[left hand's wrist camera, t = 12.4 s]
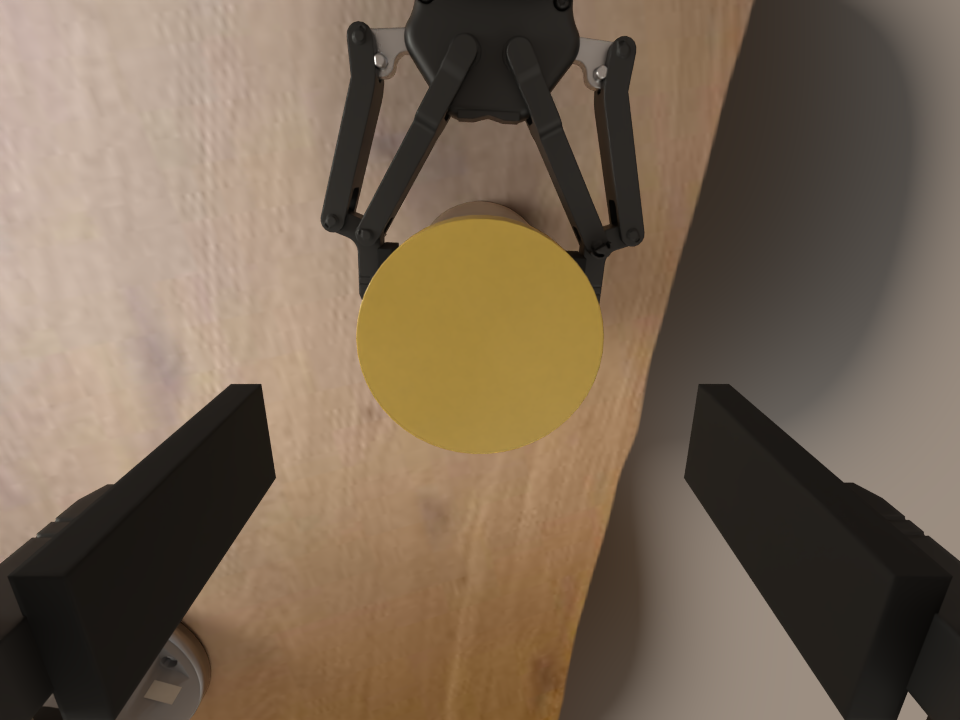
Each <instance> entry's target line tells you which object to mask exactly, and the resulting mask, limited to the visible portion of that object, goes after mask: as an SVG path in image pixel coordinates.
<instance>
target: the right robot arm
mask: <svg viewBox="0 0 960 720" xmlns="http://www.w3.org/2000/svg"><path fill="white" fill-rule="evenodd" d="M347 43H348V52H349V62H350V71H351V79H350V84H349V88H348V93H347V98H346V102H345V107H344V112H343V116H342V121H341V126H340V130H339V135H338V140H337V144H336V149H335V154H334V158H333V163H332V167H331V172H330V177H329V181H328V186H327V191H326V195H325V200H324V205H323V209H322V214H321V224H322V226H323V227H324V228H325V230H327V231H329V232H336V233H339V234H341V235H343V236H346V237H348V238H350V239H351V240H353V241H354V243H355V244H356V246H357V248H358V266H359V294H360V296H361V299H362V300H363V297H364V294H365V292H366V290H367V288H368V286H369V284H370V282H371V280H372V278H373V276H374V275H375V273H376V272H377V271H378V269H379V268H380V266H381V265H382V264H383V263H384V261H385V260H386V259H387V258H388V257H389V256H390V255H391V254H392V253H393V252H394V251H395V250H396V249H397V248H398V247H399V243H392V242H385V243H384V237H385V236H386V235H387V234H386V232H387V230H388V229H389V227H390V225H391V223H392V221H393V219H394V218H395V216H396V214H397V212H398V210H399V209H400V207H401V205H402V203H403V201H404V199H405V198H406V196H407V194H408V192H409V190H410V188H411V187H412V185H413V183H414V181H415V179H416V177H417V176H418V174H419V172H420V170H421V168H422V166H423V165H424V163H425V161H426V159H427V157H428V156H429V154H430V152H431V150H432V148H433V146H434V145H435V143H436V141H437V139H438V137H439V136H440V134H441V133H442V131H443V130H444V128H445V126H446V124H447V123H448V121H449V119H450V117H453V118H455V119H457V120H458V121H459V122H476V121H481V120H485V119H490V120H493V121H496V122H499V123H502V124H516V125H517V124H518V123H520V122H523V121H526V123H527V126H528V128H529V130H530V133H531V135H532V137H533V139H534V140H535V142H536V144H537V147H538V149H539V151H540V154H541V156H542V158H543V161H544V163H545V165H546V168H547V170H548V172H549V175H550V177H551V179H552V182H553V184H554V187H555V189H556V191H557V194H558V196H559V198H560V201H561V203H562V205H563V208H564V210H565V212H566V215H567V217H568V219H569V222H570V224H571V226H572V229H573V231H574V233H575V236H576V238H577V240H578V243H579V245H580V248H579V252H578V251H566V252H567V253H568V254H569V255H570V256H571V257H572V258H573V259H574V260H575V261H576V262H577V263H578V265H579V266H580V268H581V269H582V270H583V272H584V273H585V275H586V276H587V278H588V280H589V282H590V284H591V285H592V287H593V289H594V291H595V294H596V297H597V300H598V303H600V294H601V287H602V280H603V272H604V264H605V260H606V258H607V257H608V256H609V255H610V254H611V252H613V251H615V250H618V249H621V248H624V247H627V246H636V245H639V244H640V243H641V242H642V240H643V238H644V225H643V216H642V207H641V199H640V190H639V181H638V173H637V164H636V155H635V147H634V138H633V129H632V121H631V112H630V103H629V94H628V90H629V85H630V80H631V75H632V70H633V65H634V60H635V55H636V45H635V42H634V41H633V40H632V38H630V37H628V36H621V37H619V38H618V39H616V40H615V41H614V42H609V41H602V40H596V39H589V38H582V37H580V36H579V32H578V30H577V28H576V25H575V21H574V17H573V0H415V2H414V7H413V11H412V13H411V16H410V18H409V20H408V22H407V24H406V26H405V27H404V28H378V29H371V28H369V26H368V25H367V24H365V23H364V22H360V21H357V22H354V23H352V24H351V25H350V26H349V28H348V30H347ZM404 55H410V56H411V58H412V59H413V61H414V63H415V64H416V66H417V68H418V69H419V71H420V72H421V74H422V76H423V77H424V79H425V81H426V82H427V84H428V86H429V89H428V91H427V93H426V95H425V97H424V99H423V101H422V102H421V104H420V106H419V108H418V110H417V112H416V115H415V118H414V121H413V123H412V125H411V127H410V129H409V130H408V132H407V134H406V136H405V138H404V140H403V142H402V144H401V146H400V147H399V149H398V151H397V153H396V155H395V157H394V159H393V161H392V163H391V165H390V166H389V168H388V170H387V172H386V174H385V176H384V178H383V180H382V182H381V184H380V185H379V187H378V189H377V191H376V193H375V195H374V197H373V199H372V201H371V203H370V204H369V206H368V208H367V210H366V212H365V214H364V215H362V214H359V213H357V212H356V209H357V204H358V200H359V196H360V192H361V187H362V183H363V179H364V175H365V171H366V166H367V162H368V158H369V154H370V149H371V145H372V141H373V137H374V132H375V128H376V124H377V120H378V116H379V111H380V107H381V103H382V98H383V91H384V80H386V79H390V78H392V77H393V76H394V75H395V72H396V68H397V63H398V61H399V59H400V58H401V57H403V56H404ZM572 64H576V65H578V66H579V67H580V68H581V69H582V71H583V75H584V83H585V85H586V87H587V88H588V89H590V90H593V91H595V92H594V110H595V119H596V126H597V133H598V141H599V148H600V155H601V162H602V170H603V177H604V184H605V192H606V199H607V206H608V214H609V221H610V224H609V225H606V226H602V224H601V221H600V219H599V216H598V214H597V211H596V209H595V207H594V204H593V202H592V199H591V197H590V194H589V192H588V189H587V187H586V184H585V182H584V180H583V177H582V175H581V172H580V170H579V167H578V165H577V162H576V160H575V157H574V155H573V152H572V150H571V148H570V145H569V143H568V140H567V138H566V135H565V133H564V130H563V127H562V122H561V119H560V116H559V113H558V111H557V108H556V106H555V104H554V101H553V99H552V96H551V94H550V93H551V91H552V90H553V89H554V87H555V86H556V85H557V83H558V82H559V81H560V79H561V78H562V77H563V76H564V74H565V73H566V72H567V70H568V69H569V68H570V66H571V65H572Z"/></svg>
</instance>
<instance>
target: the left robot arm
mask: <svg viewBox="0 0 960 720" xmlns="http://www.w3.org/2000/svg"><path fill="white" fill-rule="evenodd" d="M684 478H685V480H686V482H687V483H688V485H689V486H690V487H691V489H692V491H693V492H694V494H695V495H696V497H697V498H698V500H699V501H700V503H701V504H702V506H703V507H704V509H705V510H706V512H707V513H708V515H709V516H710V518H711V519H712V521H713V522H714V524H715V525H716V527H717V528H718V530H719V531H720V533H721V534H722V536H723V537H724V539H725V540H726V542H727V543H728V545H729V546H730V548H731V549H732V551H733V552H734V554H735V555H736V557H737V558H738V560H739V561H740V563H741V564H742V566H743V567H744V569H745V570H746V572H747V573H748V575H749V576H750V578H751V579H752V581H753V582H754V584H755V585H756V587H757V588H758V590H759V592H760V593H761V595H762V596H763V597H764V599H765V601H766V602H767V604H768V605H769V607H770V608H771V610H772V611H773V613H774V614H775V616H776V617H777V619H778V620H779V622H780V623H781V625H782V626H783V628H784V629H785V631H786V632H787V634H788V635H789V637H790V638H791V640H792V641H793V643H794V644H795V646H796V647H797V649H798V650H799V652H800V653H801V655H802V656H803V658H804V659H805V661H806V662H807V664H808V665H809V667H810V668H811V670H812V671H813V673H814V674H815V676H816V677H817V679H818V680H819V682H820V683H821V685H822V686H823V688H824V689H825V691H826V692H827V694H828V695H829V697H830V699H831V700H832V702H833V703H834V705H835V706H836V708H837V709H838V711H839V712H840V714H841V715H842V717H843V718H844V720H897V718H898V715H899V713H900V710H901V708H902V705H903V703H904V700H905V697H906V695H907V692H909V693H910V694H911V695H912V697H913V698H914V699H915V700H916V701H917V703H918V704H919V705H920V706H921V708H922V709H923V710H924V711H925V712H926V714H927V715H928V717H927V719H926V720H960V561H959V560H958V559H957V558H955V557H954V556H953V555H952V554H950V553H949V552H948V551H947V550H946V549H944V548H943V547H942V546H941V545H939V544H938V543H937V542H936V541H934V540H933V539H932V538H931V537H929V536H925V535H924V532H923V531H922V530H921V529H920V528H919V527H917V526H916V525H915V524H914V523H912V522H911V521H910V520H905V516H904V515H903V514H901V513H900V512H899V511H898V510H896V509H895V508H894V507H893V506H892V505H890V504H889V503H888V502H887V501H885V500H884V499H883V498H881V497H879V496H877V495H876V494H874V493H872V492H870V491H868V490H866V489H864V488H862V487H860V486H858V485H856V484H855V483H844V482H842V481H841V480H840V479H839V478H838V477H837V476H835V475H834V474H833V473H832V472H831V471H830V470H828V469H827V468H826V467H825V466H824V465H823V464H821V463H820V462H819V461H818V460H817V459H816V458H814V457H813V456H812V455H811V454H810V453H809V452H807V451H806V450H805V449H804V448H803V447H802V446H801V445H799V444H798V443H797V442H796V441H795V440H794V439H792V438H791V437H790V436H789V435H788V434H787V433H785V432H784V431H783V430H782V429H781V428H780V427H778V426H777V425H776V424H775V423H774V422H773V421H771V420H770V419H769V418H768V417H767V416H766V415H764V414H763V413H762V412H761V411H760V410H759V409H757V408H756V407H755V406H754V405H753V404H752V403H750V402H749V401H748V400H747V399H746V398H745V397H743V396H742V395H741V394H740V393H739V392H738V391H736V390H735V389H734V388H733V387H732V386H731V385H729V384H699V386H698V392H697V399H696V405H695V412H694V418H693V424H692V431H691V437H690V444H689V450H688V456H687V463H686V469H685V475H684ZM275 479H276V475H275V469H274V463H273V456H272V450H271V443H270V437H269V431H268V424H267V418H266V411H265V405H264V399H263V392H262V386H261V384H231V385H229V386H228V387H227V388H226V389H225V390H224V391H222V392H221V393H220V394H219V395H218V396H217V397H215V398H214V399H213V400H212V401H211V402H210V403H208V404H207V405H206V406H205V407H204V408H203V409H201V410H200V411H199V412H198V413H197V414H196V415H194V416H193V417H192V418H191V419H190V420H189V421H187V422H186V423H185V424H184V425H183V426H182V427H180V428H179V429H178V430H177V431H176V432H175V433H173V434H172V435H171V436H170V437H169V438H168V439H166V440H165V441H164V442H163V443H162V444H161V445H159V446H158V447H157V448H156V449H155V450H154V451H152V452H151V453H150V454H149V455H148V456H147V457H146V458H144V459H143V460H142V461H141V462H140V463H139V464H137V465H136V466H135V467H134V468H133V469H132V470H130V471H129V472H128V473H127V474H126V475H125V476H123V477H122V478H121V479H120V480H119V481H118V482H116V483H115V484H107V485H106V486H104V487H102V488H100V489H98V490H96V491H94V492H92V493H90V494H89V495H87V496H85V497H83V498H81V499H79V500H78V501H76V502H75V503H74V504H73V505H71V506H70V507H69V508H68V509H67V510H65V511H64V512H63V513H62V514H60V515H59V516H58V517H57V518H56V521H55V522H51V523H49V524H48V525H47V526H46V527H45V528H43V529H42V530H41V531H40V532H38V533H37V537H36V538H31V539H30V540H29V541H28V542H26V543H25V544H24V545H23V546H21V547H20V548H19V549H18V550H17V551H15V552H14V553H13V554H12V555H10V556H9V557H8V558H7V559H6V560H4V561H3V562H2V563H1V564H0V720H189V719H190V718H191V717H192V716H193V715H194V713H195V711H196V710H197V708H198V706H199V704H200V702H201V700H202V699H203V697H204V695H205V693H206V691H207V689H208V686H209V683H210V677H211V669H210V663H209V659H208V656H207V654H206V652H205V650H204V648H203V646H202V645H201V643H200V642H199V640H198V639H197V638H196V637H195V636H194V634H193V633H192V632H191V631H190V630H189V629H188V628H186V627H185V626H184V625H183V624H182V623H180V622H181V620H182V619H183V617H184V616H185V614H186V613H187V611H188V610H189V608H190V607H191V605H192V604H193V602H194V601H195V599H196V598H197V596H198V595H199V593H200V592H201V590H202V589H203V587H204V585H205V584H206V582H207V581H208V579H209V578H210V576H211V575H212V573H213V572H214V570H215V569H216V567H217V566H218V564H219V563H220V561H221V560H222V558H223V557H224V555H225V554H226V552H227V551H228V549H229V548H230V546H231V545H232V543H233V542H234V540H235V539H236V537H237V536H238V534H239V533H240V531H241V530H242V528H243V527H244V525H245V524H246V522H247V521H248V519H249V518H250V516H251V515H252V513H253V512H254V510H255V509H256V507H257V506H258V504H259V503H260V501H261V500H262V498H263V497H264V495H265V494H266V492H267V491H268V489H269V488H270V486H271V485H272V483H273V482H274V480H275Z"/></svg>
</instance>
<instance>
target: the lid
mask: <svg viewBox="0 0 960 720" xmlns="http://www.w3.org/2000/svg"><path fill="white" fill-rule="evenodd" d="M356 341H357V352H358V358H359V362H360V366H361V370H362V373H363V375H364V378H365V380H366V383H367V385H368V387H369V389H370V390H371V392H372V394H373V396H374V398H375V399H376V400H377V402H378V403H379V404H380V406H381V407H382V409H383V410H384V411H385V412H386V413H387V414H388V415H389V416H390V417H391V418H392V419H393V420H394V421H395V422H396V423H397V424H398V425H400V426H401V427H402V428H403V429H405V430H406V431H408V432H409V433H411V434H412V435H414V436H415V437H417V438H419V439H421V440H423V441H425V442H427V443H429V444H432V445H434V446H437V447H440V448H443V449H447V450H451V451H455V452H461V453H470V454H490V453H499V452H505V451H509V450H513V449H517V448H520V447H523V446H526V445H528V444H531V443H533V442H535V441H537V440H539V439H541V438H543V437H545V436H546V435H548V434H549V433H551V432H552V431H554V430H555V429H557V428H558V427H559V426H560V425H562V424H563V423H564V422H565V421H566V420H567V419H569V417H570V416H571V415H572V414H573V413H574V412H575V411H576V410H577V409H578V407H579V406H580V405H581V403H582V402H583V400H584V399H585V397H586V396H587V394H588V393H589V391H590V389H591V387H592V385H593V383H594V381H595V378H596V375H597V372H598V370H599V367H600V362H601V357H602V353H603V341H604V332H603V320H602V315H601V310H600V306H599V303H598V300H597V297H596V294H595V291H594V289H593V287H592V285H591V284H590V282H589V280H588V278H587V276H586V275H585V273H584V272H583V270H582V269H581V268H580V266H579V265H578V263H577V262H576V261H575V260H574V259H573V258H572V257H571V256H570V255H569V254H568V253H567V252H566V251H565V250H564V249H563V248H562V247H561V246H560V245H559V244H557V243H556V242H555V241H554V240H552V239H551V238H550V237H549V236H547V235H546V234H544V233H542V232H541V231H539V230H537V229H536V228H534V227H532V226H529V225H527V224H524V223H522V222H520V221H516V220H513V219H509V218H505V217H500V216H492V215H468V216H461V217H454V218H451V219H447V220H444V221H440V222H438V223H435V224H433V225H431V226H429V227H426V228H424V229H423V230H421V231H419V232H418V233H416V234H415V235H413V236H411V237H410V238H409V239H408V240H406V241H405V242H404V243H403V244H402V245H400V246H399V247H398V248H397V249H396V250H395V251H394V252H393V253H392V254H391V255H390V256H389V257H388V258H387V259H386V260H385V261H384V263H383V264H382V265H381V266H380V268H379V269H378V271H377V272H376V273H375V275H374V276H373V278H372V280H371V282H370V284H369V286H368V288H367V290H366V292H365V294H364V297H363V300H362V303H361V306H360V310H359V315H358V320H357V334H356Z"/></svg>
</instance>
